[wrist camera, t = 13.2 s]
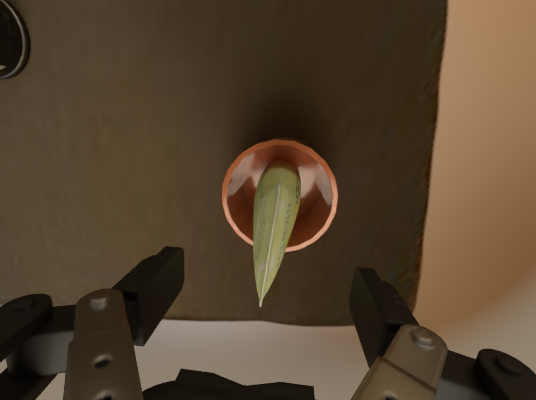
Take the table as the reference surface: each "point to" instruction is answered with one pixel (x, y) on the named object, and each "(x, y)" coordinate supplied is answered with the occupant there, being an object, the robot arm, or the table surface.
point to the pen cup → (312, 189)
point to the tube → (273, 220)
